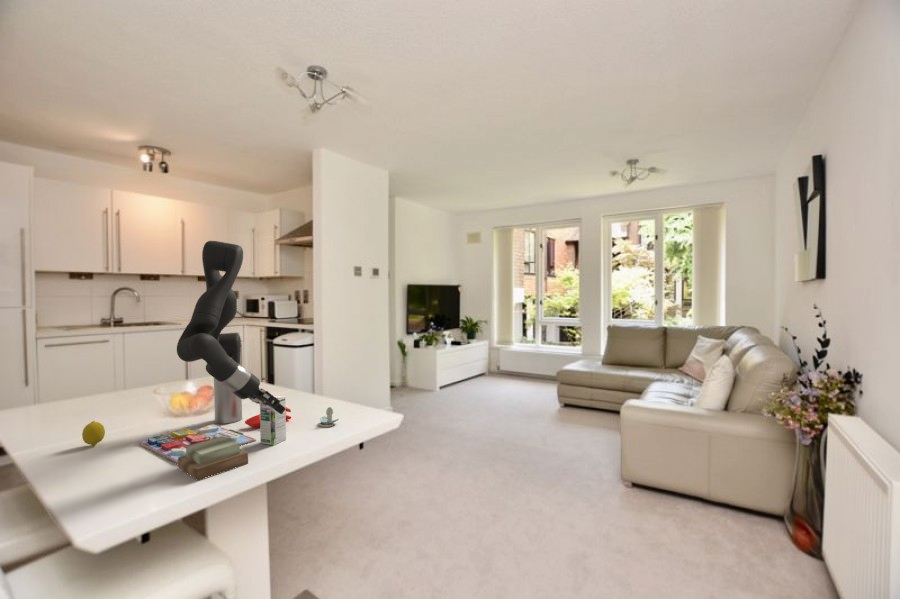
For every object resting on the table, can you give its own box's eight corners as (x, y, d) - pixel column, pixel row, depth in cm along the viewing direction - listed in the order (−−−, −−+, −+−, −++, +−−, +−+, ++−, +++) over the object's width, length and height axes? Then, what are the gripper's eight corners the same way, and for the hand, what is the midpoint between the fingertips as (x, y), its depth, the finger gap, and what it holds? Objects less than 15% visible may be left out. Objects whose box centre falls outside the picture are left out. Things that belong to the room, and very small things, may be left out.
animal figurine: (240, 428, 149) (240, 414, 149) (279, 417, 161) (278, 404, 161) (256, 434, 142) (256, 420, 142) (296, 422, 154) (295, 409, 154)
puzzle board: (256, 442, 135) (256, 434, 135) (178, 468, 116) (178, 458, 116) (212, 426, 153) (212, 419, 153) (138, 446, 134) (138, 438, 134)
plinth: (178, 468, 115) (177, 446, 115) (227, 453, 125) (226, 433, 125) (198, 480, 107) (197, 457, 107) (248, 463, 117) (247, 442, 117)
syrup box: (259, 443, 132) (258, 398, 132) (273, 437, 138) (272, 394, 138) (273, 445, 130) (272, 400, 130) (287, 439, 136) (286, 395, 135)
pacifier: (329, 429, 146) (341, 424, 151) (328, 412, 146) (340, 407, 151) (314, 426, 150) (326, 421, 155) (313, 409, 149) (325, 404, 155)
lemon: (80, 450, 129) (79, 425, 129) (85, 444, 134) (85, 420, 134) (102, 447, 132) (101, 422, 132) (107, 441, 137) (106, 417, 137)
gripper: (259, 373, 123) (295, 402, 133) (237, 368, 132) (272, 396, 141) (242, 394, 119) (280, 423, 128) (220, 388, 128) (257, 415, 137)
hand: (276, 409), depth 135 cm, fingers open, 8 cm apart
